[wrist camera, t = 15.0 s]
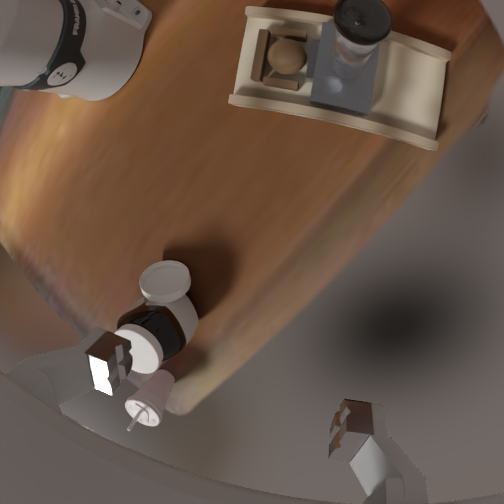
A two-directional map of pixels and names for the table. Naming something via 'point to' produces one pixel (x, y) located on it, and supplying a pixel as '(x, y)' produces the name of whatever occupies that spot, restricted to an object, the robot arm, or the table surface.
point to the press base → (385, 85)
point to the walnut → (287, 56)
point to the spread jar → (159, 316)
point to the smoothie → (150, 399)
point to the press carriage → (348, 55)
